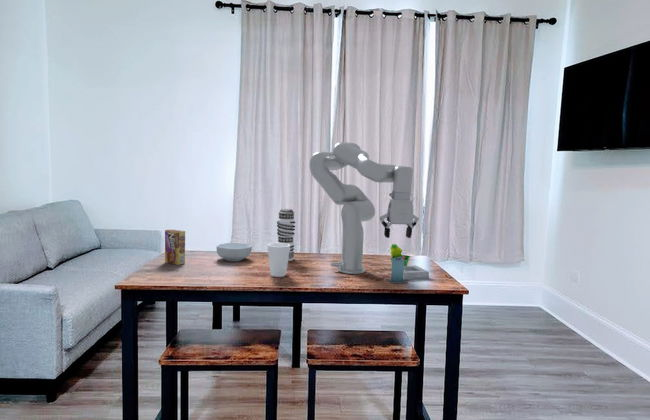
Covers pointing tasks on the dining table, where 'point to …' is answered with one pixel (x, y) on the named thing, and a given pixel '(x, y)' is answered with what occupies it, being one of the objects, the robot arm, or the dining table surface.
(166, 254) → the candy box
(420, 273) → the frame
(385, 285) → the dining table surface
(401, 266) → the blue cylinder
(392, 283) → the mat
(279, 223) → the decorative candle
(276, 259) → the foam cup
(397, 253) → the fruit basket
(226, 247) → the cereal bowl
